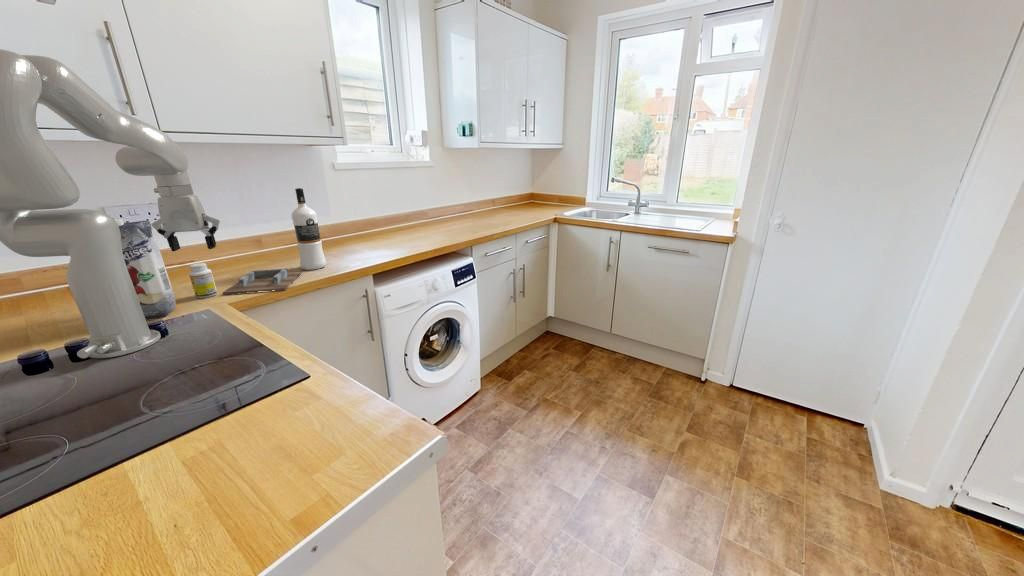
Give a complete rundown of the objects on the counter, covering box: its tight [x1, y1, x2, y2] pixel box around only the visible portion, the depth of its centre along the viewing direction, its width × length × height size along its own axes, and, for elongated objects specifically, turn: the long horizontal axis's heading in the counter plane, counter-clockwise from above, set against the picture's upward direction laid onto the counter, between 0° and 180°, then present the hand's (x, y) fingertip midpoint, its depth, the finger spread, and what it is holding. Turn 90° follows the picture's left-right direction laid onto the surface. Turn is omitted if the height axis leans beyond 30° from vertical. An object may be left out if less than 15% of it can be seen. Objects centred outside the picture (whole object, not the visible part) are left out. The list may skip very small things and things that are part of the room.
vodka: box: [291, 187, 328, 271], centre depth 146 cm, size 9×9×30 cm
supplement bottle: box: [188, 262, 218, 299], centre depth 121 cm, size 6×6×10 cm
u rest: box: [222, 268, 303, 296], centre depth 132 cm, size 18×18×4 cm
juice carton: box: [113, 218, 177, 320], centre depth 104 cm, size 9×10×27 cm
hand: (194, 249), depth 118 cm, fingers open, 9 cm apart
